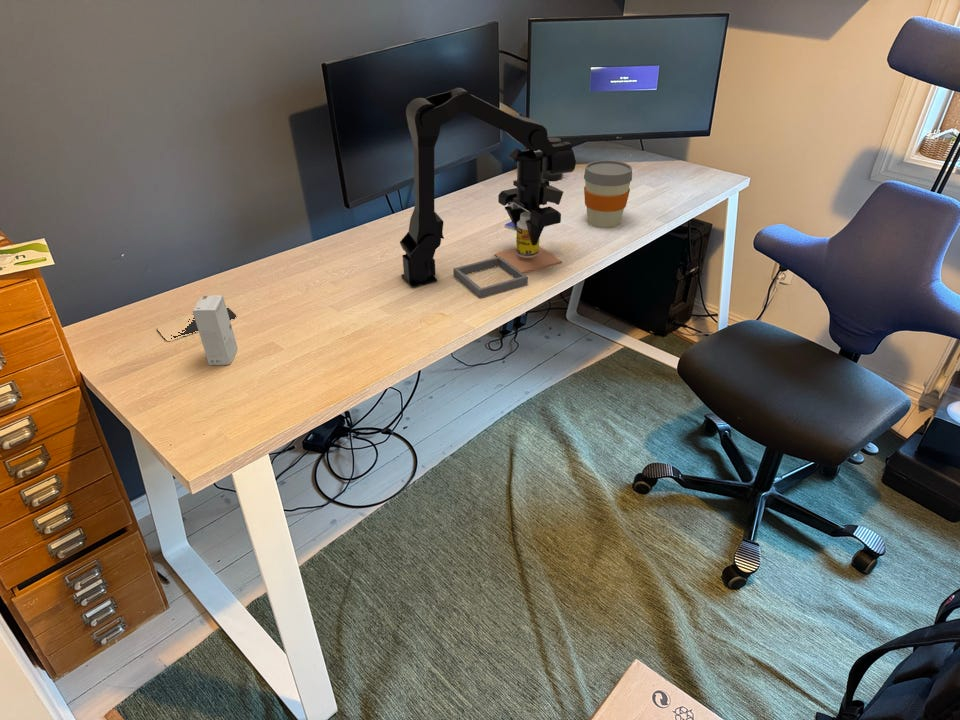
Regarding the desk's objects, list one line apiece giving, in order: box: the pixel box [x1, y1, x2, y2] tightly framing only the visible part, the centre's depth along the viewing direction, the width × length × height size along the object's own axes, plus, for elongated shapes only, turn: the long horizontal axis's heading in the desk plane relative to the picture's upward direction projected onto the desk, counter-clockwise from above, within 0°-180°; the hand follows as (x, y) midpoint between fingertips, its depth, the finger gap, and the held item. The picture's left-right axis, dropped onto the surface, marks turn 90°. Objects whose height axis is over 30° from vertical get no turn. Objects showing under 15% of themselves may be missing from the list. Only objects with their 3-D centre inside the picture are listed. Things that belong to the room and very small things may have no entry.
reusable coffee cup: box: [583, 159, 633, 229], centre depth 181 cm, size 13×13×15 cm
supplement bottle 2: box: [542, 137, 564, 182], centre depth 212 cm, size 7×7×12 cm
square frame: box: [452, 256, 529, 299], centre depth 157 cm, size 13×13×2 cm
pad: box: [493, 245, 563, 274], centre depth 166 cm, size 12×12×1 cm
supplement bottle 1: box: [515, 212, 540, 258], centre depth 163 cm, size 6×6×10 cm
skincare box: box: [192, 294, 238, 366], centre depth 129 cm, size 6×4×12 cm
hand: (527, 240), depth 164 cm, fingers closed on supplement bottle 1, 5 cm apart
